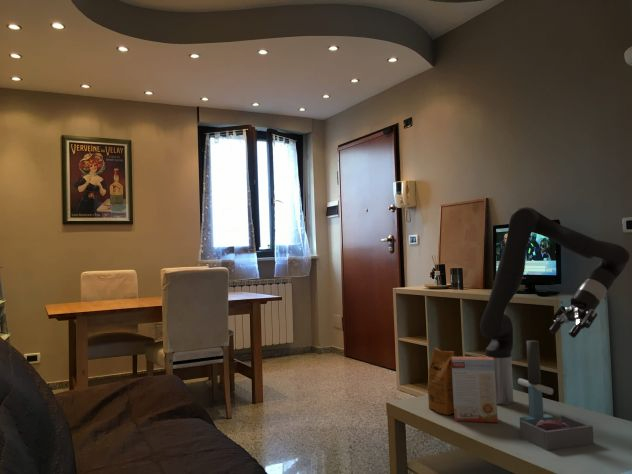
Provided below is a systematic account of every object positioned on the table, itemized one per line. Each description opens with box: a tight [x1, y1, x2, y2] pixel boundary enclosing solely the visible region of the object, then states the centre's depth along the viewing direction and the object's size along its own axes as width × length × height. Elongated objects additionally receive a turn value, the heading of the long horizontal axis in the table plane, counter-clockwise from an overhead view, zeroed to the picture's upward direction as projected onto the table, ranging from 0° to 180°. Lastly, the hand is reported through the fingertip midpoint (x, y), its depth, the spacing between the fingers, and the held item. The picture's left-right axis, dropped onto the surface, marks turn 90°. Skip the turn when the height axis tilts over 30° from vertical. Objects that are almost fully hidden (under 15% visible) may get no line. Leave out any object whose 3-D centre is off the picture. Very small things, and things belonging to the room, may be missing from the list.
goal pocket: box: [519, 414, 595, 451], centre depth 148 cm, size 12×16×5 cm
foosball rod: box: [517, 339, 555, 426], centre depth 156 cm, size 14×10×28 cm
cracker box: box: [452, 356, 499, 424], centre depth 170 cm, size 14×6×21 cm, turn 74°
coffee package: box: [427, 347, 457, 416], centre depth 181 cm, size 10×12×22 cm
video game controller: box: [536, 419, 570, 431], centre depth 149 cm, size 10×5×7 cm, turn 62°
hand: (561, 333), depth 160 cm, fingers open, 8 cm apart
